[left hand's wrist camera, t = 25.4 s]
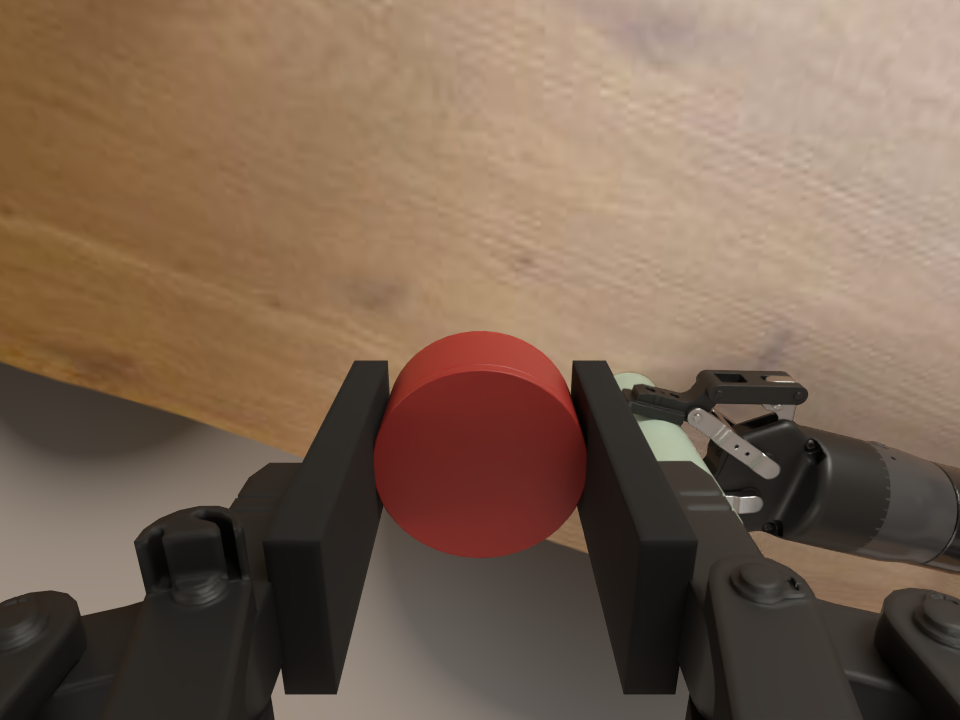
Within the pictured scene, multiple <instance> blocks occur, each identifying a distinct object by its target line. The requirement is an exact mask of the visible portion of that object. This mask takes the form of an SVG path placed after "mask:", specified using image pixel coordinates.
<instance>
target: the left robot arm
mask: <svg viewBox="0 0 960 720" xmlns="http://www.w3.org/2000/svg"><path fill="white" fill-rule="evenodd" d="M389 397H390V393H389V375H388V361H354V363H353V365H352V367H351V369H350V371H349V372H348V374H347V376H346V378H345V380H344V382H343V384H342V386H341V388H340V390H339V392H338V394H337V396H336V398H335V400H334V402H333V404H332V406H331V408H330V410H329V411H328V413H327V415H326V417H325V419H324V421H323V423H322V425H321V427H320V429H319V431H318V433H317V435H316V437H315V439H314V441H313V443H312V445H311V447H310V448H309V450H308V452H307V454H306V456H305V458H304V460H303V462H302V463H269V464H267V465H266V466H265V467H263V468H262V469H260V470H259V471H258V472H256V473H255V474H253V475H252V476H251V477H249V478H248V480H247V482H246V483H245V485H244V486H243V488H242V489H241V491H240V493H239V494H238V498H236V499H235V500H234V502H233V503H232V505H231V507H230V508H229V509H228V508H224V507H221V506H197V507H193V508H188V509H183V510H179V511H176V512H174V513H172V514H169V515H167V516H164V517H162V518H160V519H158V520H157V521H155V522H154V523H152V524H151V525H149V526H148V527H146V528H145V529H144V530H143V531H142V532H141V533H140V535H139V536H138V537H137V538H136V540H135V541H134V544H135V549H136V553H137V557H138V561H139V565H140V570H141V574H142V578H143V582H144V586H145V591H146V596H145V598H144V601H142V602H139V603H135V604H132V605H128V606H125V607H120V608H116V609H111V610H107V611H102V612H98V613H93V614H89V615H84V616H81V615H80V611H79V608H78V605H77V601H75V600H74V599H73V598H72V597H71V596H70V595H69V594H67V593H62V592H57V591H42V592H32V593H27V594H24V595H21V596H18V597H14V598H11V599H8V600H5V601H3V602H1V603H0V720H274V713H273V706H272V700H271V694H272V691H273V689H274V686H275V683H276V680H277V677H278V675H279V672H280V669H281V670H282V676H283V683H284V690H285V694H337V691H338V687H339V683H340V679H341V675H342V670H343V667H344V663H345V659H346V654H347V650H348V646H349V642H350V638H351V634H352V630H353V626H354V622H355V618H356V614H357V610H358V606H359V602H360V598H361V594H362V590H363V586H364V582H365V578H366V574H367V570H368V566H369V562H370V558H371V554H372V550H373V546H374V542H375V537H376V533H377V529H378V525H379V521H380V517H381V513H382V509H383V503H382V502H381V500H380V497H379V495H378V492H377V490H376V484H375V470H374V455H373V449H374V444H375V440H376V437H377V434H378V430H379V427H380V424H381V421H382V418H383V415H384V412H385V409H386V406H387V403H388V400H389ZM571 398H572V401H573V404H574V407H575V410H576V413H577V417H578V420H579V423H580V426H581V429H582V432H583V435H584V439H585V443H586V447H587V463H586V477H585V488H584V491H583V494H582V496H581V499H580V500H579V502H578V504H577V508H578V512H579V516H580V520H581V524H582V528H583V532H584V536H585V540H586V544H587V548H588V552H589V556H590V560H591V564H592V568H593V572H594V576H595V580H596V584H597V588H598V592H599V596H600V600H601V604H602V609H603V613H604V617H605V621H606V625H607V628H608V633H609V637H610V641H611V645H612V649H613V653H614V657H615V661H616V665H617V669H618V673H619V677H620V681H621V685H622V689H623V693H624V694H675V692H676V686H677V679H678V673H679V666H680V668H681V671H682V673H683V676H684V679H685V681H686V684H687V687H688V690H689V692H690V694H689V700H688V706H687V712H686V719H685V720H960V600H959V599H957V598H955V597H952V596H949V595H947V594H942V593H939V592H936V591H933V590H926V589H916V588H907V589H901V590H896V591H893V592H892V593H891V594H890V595H889V596H887V597H886V598H885V599H884V603H883V606H882V610H881V613H880V614H879V613H874V612H870V611H865V610H861V609H856V608H852V607H847V606H843V605H838V604H834V603H831V602H827V601H824V600H820V599H817V598H816V597H815V595H814V593H813V591H812V590H811V588H810V587H809V585H808V584H807V582H806V581H805V580H804V579H803V578H802V577H801V576H799V575H798V574H797V573H796V572H794V571H793V570H792V569H790V568H789V567H787V566H785V565H782V564H780V563H778V562H776V561H774V560H772V559H768V558H764V556H763V555H762V553H761V551H760V550H759V548H758V547H757V545H756V544H755V542H754V541H753V539H752V537H751V536H750V534H749V533H748V531H747V530H746V528H745V527H744V525H743V523H742V522H741V520H740V519H739V517H738V516H737V514H736V513H735V511H732V506H731V505H730V503H729V502H728V500H727V499H726V497H725V496H723V492H722V491H721V489H720V488H719V486H718V485H717V483H716V481H715V480H714V478H713V477H712V475H710V474H709V473H707V472H706V471H705V470H703V469H702V468H700V467H699V466H698V465H696V464H695V463H693V462H692V461H657V459H656V457H655V455H654V453H653V452H652V450H651V448H650V446H649V444H648V442H647V440H646V438H645V436H644V434H643V432H642V430H641V428H640V426H639V424H638V422H637V420H636V418H635V416H634V415H633V413H632V411H631V409H630V407H629V405H628V403H627V401H626V399H625V397H624V395H623V393H622V391H621V389H620V387H619V385H618V383H617V381H616V379H615V378H614V376H613V374H612V372H611V370H610V368H609V366H608V364H607V362H606V361H573V365H572V383H571Z"/></svg>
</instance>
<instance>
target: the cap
mask: <svg viewBox="0 0 960 720" xmlns="http://www.w3.org/2000/svg"><path fill="white" fill-rule="evenodd" d="M373 455H374V470H375V484H376V490H377V492H378V495H379V497H380V500H381V502H382V503H383V505H384V507H385V509H386V510H387V512H388V513H389V514H390V516H391V517H392V518H393V520H394V521H395V522H396V523H397V524H398V525H399V526H400V527H401V528H402V529H403V530H404V531H405V532H407V533H408V534H409V535H411V536H412V537H413V538H415V539H416V540H418V541H420V542H421V543H423V544H425V545H427V546H429V547H431V548H433V549H436V550H438V551H441V552H445V553H448V554H452V555H456V556H461V557H471V558H490V557H499V556H504V555H509V554H513V553H516V552H519V551H522V550H525V549H527V548H530V547H532V546H534V545H536V544H538V543H540V542H541V541H543V540H544V539H546V538H547V537H549V536H550V535H551V534H553V533H554V532H555V531H556V530H557V529H559V528H560V527H561V526H562V525H563V524H564V522H565V521H566V520H567V519H568V518H569V517H570V515H571V514H572V512H573V511H574V510H575V508H576V506H577V504H578V502H579V500H580V499H581V496H582V494H583V491H584V488H585V477H586V463H587V447H586V443H585V439H584V435H583V432H582V429H581V426H580V423H579V420H578V417H577V413H576V410H575V407H574V404H573V401H572V398H571V395H570V392H569V389H568V387H567V384H566V382H565V380H564V378H563V376H562V375H561V373H560V371H559V370H558V368H557V367H556V366H555V365H554V364H553V362H552V361H551V360H550V359H549V358H548V357H547V356H546V355H545V354H543V353H542V352H541V351H539V350H538V349H537V348H535V347H534V346H532V345H530V344H529V343H527V342H525V341H523V340H521V339H518V338H515V337H513V336H510V335H506V334H502V333H497V332H488V331H472V332H465V333H458V334H455V335H451V336H447V337H445V338H443V339H440V340H438V341H436V342H434V343H432V344H430V345H429V346H427V347H425V348H424V349H422V350H421V351H420V352H419V353H417V354H416V355H415V356H414V357H413V358H412V359H411V360H410V361H409V362H408V363H407V364H406V365H405V367H404V368H403V369H402V371H401V372H400V374H399V376H398V377H397V379H396V381H395V383H394V386H393V388H392V391H391V394H390V397H389V400H388V403H387V406H386V409H385V412H384V415H383V418H382V421H381V424H380V427H379V430H378V434H377V437H376V440H375V444H374V449H373Z"/></svg>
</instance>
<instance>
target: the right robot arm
mask: <svg viewBox="0 0 960 720" xmlns="http://www.w3.org/2000/svg"><path fill="white" fill-rule="evenodd" d="M622 393H623V395H624V397H625V399H626V401H627V403H628V405H629V407H630V409H631V411H632V413H633V414H637V415H641V416H645V417H649V418H653V419H658V420H662V421H666V422H670V423H674V424H678V425H682V423H683V421H687V422H689V424H690V425H692V426H693V427H695V428H696V429H698V430H699V431H700V432H702V433H703V434H705V435H706V436H708V437H709V438H711V439H710V441H709V443H708V449H707V455H706V456H705V458H704V459H703V461H704V463H705V464H706V466H707V468H708V469H709V471H710V472H711V474H712V475H713V477H714V478H715V480H716V482H717V483H718V485H719V486H720V488H721V489H722V491H723V492H724V494H725V496H726V497H727V499H728V500H729V502H730V503H731V505H732V506H733V508H734V510H735V511H736V513H737V514H738V516H739V517H740V519H741V520H742V522H743V525H744V527H745V528H746V530H747V531H748V532H751V531H763V532H766V533H769V534H771V535H774V536H776V537H779V538H782V539H785V540H789V541H793V542H798V543H802V544H807V545H811V546H815V547H820V548H824V549H828V550H832V551H837V552H841V553H846V554H850V555H854V556H859V557H863V558H867V559H872V560H877V561H886V562H899V563H906V564H910V565H915V566H919V567H923V568H927V569H932V570H936V571H940V572H945V573H950V574H955V575H960V469H959V468H955V467H951V466H947V465H943V464H939V463H935V462H931V461H927V460H924V459H920V458H918V457H915V456H913V455H911V454H908V453H906V452H903V451H900V450H897V449H894V448H890V447H887V446H885V445H883V444H881V443H877V442H873V441H867V442H866V441H862V440H858V439H854V438H850V437H846V436H842V435H838V434H834V433H830V432H826V431H822V430H818V429H814V428H810V427H806V426H800V425H798V424H796V423H795V422H794V421H793V417H794V413H795V408H796V405H799V404H802V403H803V402H805V401H806V399H807V397H808V392H807V390H806V389H805V388H804V387H803V386H802V385H800V384H799V383H798V382H797V381H796V380H795V379H793V378H792V377H791V376H790V375H789V374H787V373H786V372H781V371H731V370H704V371H701V372H700V373H699V374H698V375H697V377H696V383H695V384H694V385H693V386H692V388H691V389H690V390H688V391H686V392H683V393H677V392H673V391H669V390H665V389H661V388H657V387H653V386H649V385H645V384H636V385H634V386H633V388H632V390H631V389H627V388H623V389H622ZM717 403H719V404H761V405H762V406H763V407H764V408H765V409H766V410H768V411H772V413H770V414H767V415H763V416H760V417H757V418H754V419H751V420H748V421H745V422H742V423H739V424H736V423H735V422H733V421H732V420H730V419H729V418H727V417H726V416H725V415H723V414H722V413H720V412H719V411H717V410H716V409H715V408H713V407H714V406H715V405H716V404H717Z"/></svg>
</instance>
